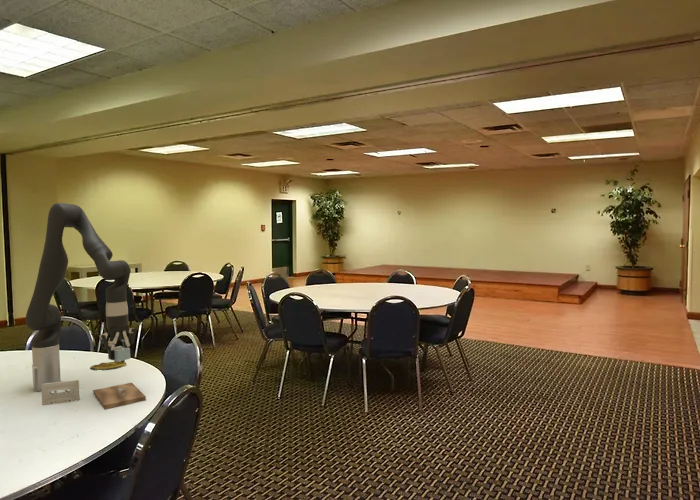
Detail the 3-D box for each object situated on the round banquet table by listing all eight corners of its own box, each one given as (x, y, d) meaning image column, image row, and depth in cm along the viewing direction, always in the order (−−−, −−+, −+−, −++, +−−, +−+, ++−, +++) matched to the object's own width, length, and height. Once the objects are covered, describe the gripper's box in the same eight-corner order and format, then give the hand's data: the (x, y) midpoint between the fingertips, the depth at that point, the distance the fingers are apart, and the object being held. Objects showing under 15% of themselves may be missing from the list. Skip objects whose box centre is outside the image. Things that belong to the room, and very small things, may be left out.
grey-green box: (108, 359, 183) (107, 347, 183) (120, 356, 187) (120, 345, 187) (118, 361, 179) (117, 350, 179) (130, 358, 183) (129, 347, 183)
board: (104, 409, 171) (103, 397, 171) (93, 393, 187) (92, 383, 186) (145, 400, 179) (145, 388, 179) (131, 386, 195) (131, 375, 195)
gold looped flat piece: (89, 375, 214) (126, 370, 220) (88, 365, 214) (125, 360, 220) (91, 367, 223) (126, 362, 229) (90, 357, 222) (126, 353, 228)
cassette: (79, 399, 181) (79, 379, 181) (79, 400, 180) (78, 380, 179) (42, 404, 177) (41, 383, 176) (41, 405, 175) (40, 385, 175)
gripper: (129, 309, 190) (131, 352, 191) (92, 315, 178) (95, 361, 179) (140, 311, 186) (142, 354, 187) (103, 317, 174) (106, 364, 175)
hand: (119, 357), depth 183 cm, fingers closed on grey-green box, 4 cm apart
